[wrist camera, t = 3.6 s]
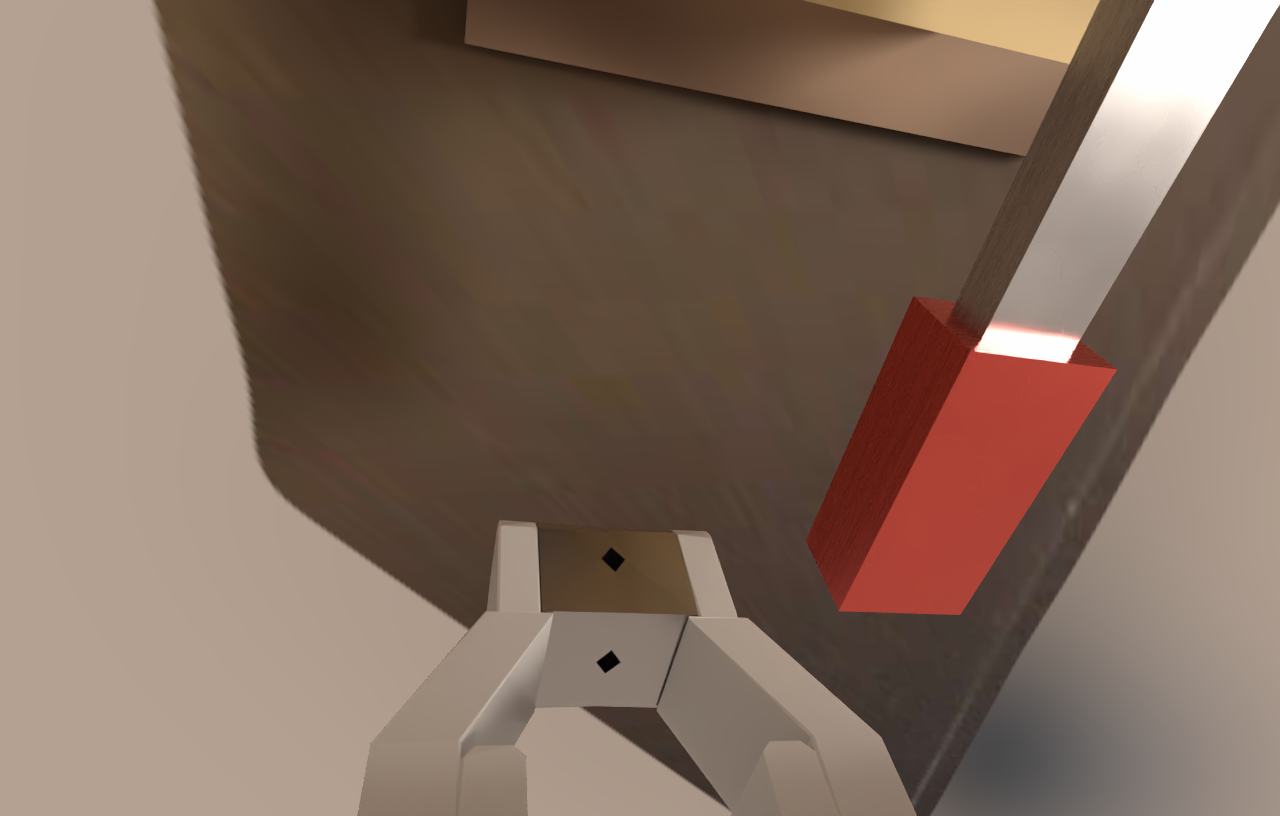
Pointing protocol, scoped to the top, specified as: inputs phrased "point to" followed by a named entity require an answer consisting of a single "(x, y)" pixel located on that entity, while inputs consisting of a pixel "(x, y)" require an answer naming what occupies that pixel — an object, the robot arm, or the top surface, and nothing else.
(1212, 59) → the valve lever
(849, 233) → the top surface
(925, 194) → the top surface
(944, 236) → the top surface
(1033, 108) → the valve manifold
